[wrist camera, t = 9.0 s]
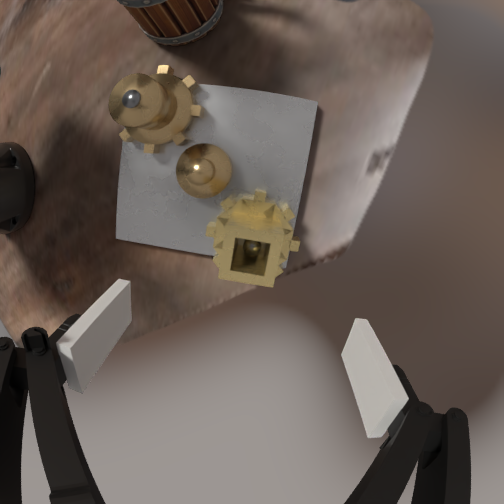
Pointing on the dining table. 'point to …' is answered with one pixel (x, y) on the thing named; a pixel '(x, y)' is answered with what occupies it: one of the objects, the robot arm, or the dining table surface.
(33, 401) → the robot arm
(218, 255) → the gear
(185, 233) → the carrier
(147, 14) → the mug
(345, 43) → the dining table surface
